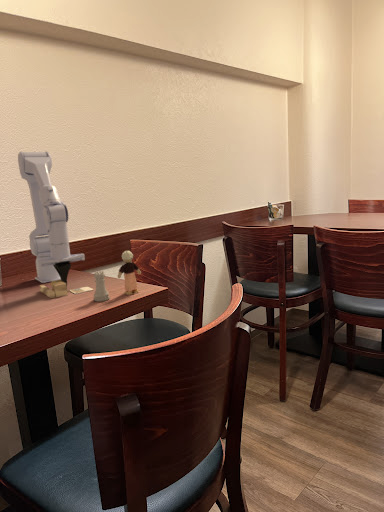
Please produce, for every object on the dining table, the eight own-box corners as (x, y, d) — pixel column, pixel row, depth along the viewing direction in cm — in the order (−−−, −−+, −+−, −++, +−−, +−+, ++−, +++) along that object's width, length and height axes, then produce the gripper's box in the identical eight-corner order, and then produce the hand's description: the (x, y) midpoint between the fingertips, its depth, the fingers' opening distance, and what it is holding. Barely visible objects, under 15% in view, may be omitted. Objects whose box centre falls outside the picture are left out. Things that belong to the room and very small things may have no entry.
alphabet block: (63, 288, 128) (61, 279, 127) (62, 291, 125) (60, 281, 124) (53, 290, 127) (51, 281, 127) (52, 292, 124) (50, 283, 124)
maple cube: (52, 295, 122) (51, 283, 121) (63, 292, 124) (62, 281, 123) (56, 297, 119) (54, 285, 118) (67, 294, 121) (66, 283, 120)
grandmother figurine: (135, 289, 123) (131, 248, 121) (144, 290, 121) (140, 249, 118) (116, 295, 117) (112, 252, 115) (125, 297, 115) (121, 253, 112)
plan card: (69, 290, 125) (69, 290, 125) (87, 287, 129) (87, 286, 129) (74, 294, 121) (74, 293, 121) (93, 289, 125) (93, 289, 125)
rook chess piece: (106, 302, 111) (103, 274, 110) (91, 302, 112) (88, 274, 111) (112, 297, 116) (109, 270, 114) (97, 297, 116) (95, 270, 115)
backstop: (40, 291, 127) (39, 285, 127) (43, 290, 128) (43, 284, 128) (51, 298, 118) (50, 292, 118) (55, 297, 119) (54, 291, 118)
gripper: (39, 248, 118) (45, 292, 120) (86, 241, 126) (91, 283, 129) (32, 245, 124) (38, 288, 126) (78, 239, 132) (82, 279, 134)
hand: (64, 285), depth 128 cm, fingers closed
